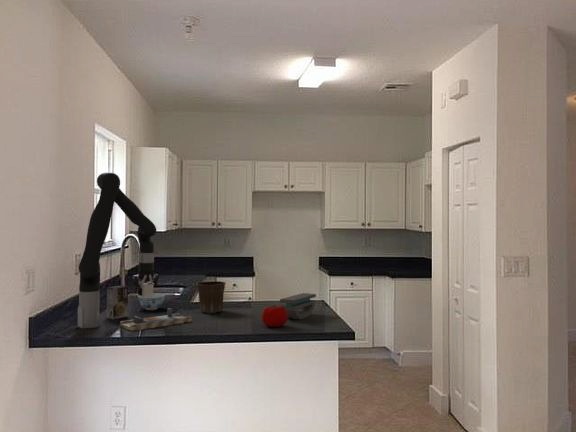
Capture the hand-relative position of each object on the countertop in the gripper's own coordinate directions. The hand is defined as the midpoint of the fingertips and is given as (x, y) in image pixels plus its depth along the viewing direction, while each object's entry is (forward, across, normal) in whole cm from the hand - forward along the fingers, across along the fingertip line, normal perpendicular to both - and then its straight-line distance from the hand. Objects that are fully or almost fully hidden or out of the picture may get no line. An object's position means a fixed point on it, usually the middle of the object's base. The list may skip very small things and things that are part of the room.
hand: (145, 294), depth 268 cm
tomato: (+12, +39, -57) cm, 70 cm away
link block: (+1, 0, 0) cm, 1 cm away
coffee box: (+14, -7, +16) cm, 23 cm away
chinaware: (+13, +18, +27) cm, 35 cm away
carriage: (+11, 0, -14) cm, 18 cm away
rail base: (+13, -1, -14) cm, 19 cm away
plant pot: (+12, +38, -3) cm, 40 cm away
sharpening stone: (+11, +64, -48) cm, 80 cm away
